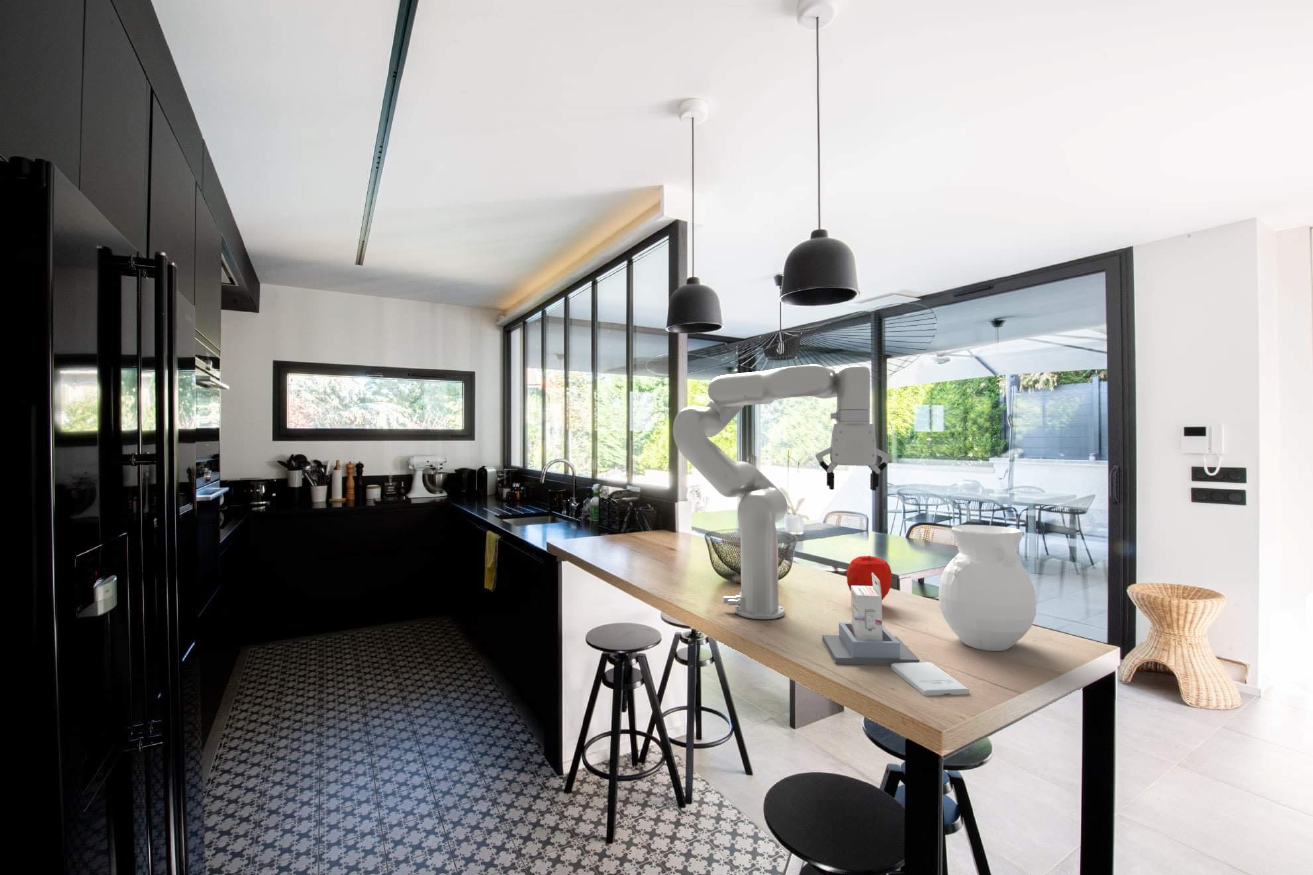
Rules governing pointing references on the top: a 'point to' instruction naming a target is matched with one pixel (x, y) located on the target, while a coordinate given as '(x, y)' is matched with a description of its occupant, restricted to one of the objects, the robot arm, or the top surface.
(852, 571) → the apple
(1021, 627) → the white vase
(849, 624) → the dock
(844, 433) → the robot arm
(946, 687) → the external hard drive
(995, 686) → the top surface
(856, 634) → the ink cartridge box
